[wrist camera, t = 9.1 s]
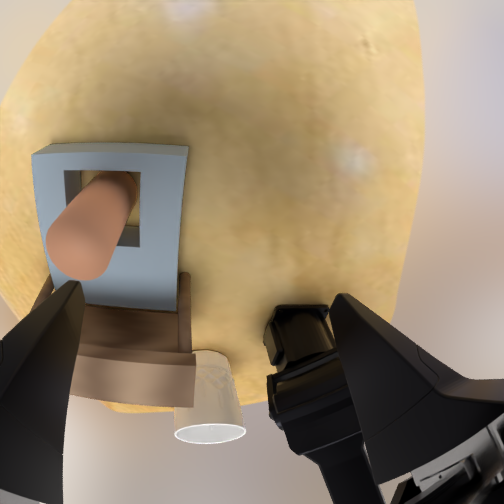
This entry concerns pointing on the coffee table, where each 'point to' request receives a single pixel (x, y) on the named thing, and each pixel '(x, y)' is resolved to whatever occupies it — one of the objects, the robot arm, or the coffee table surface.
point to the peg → (92, 225)
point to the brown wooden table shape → (135, 354)
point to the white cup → (211, 404)
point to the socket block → (132, 238)
